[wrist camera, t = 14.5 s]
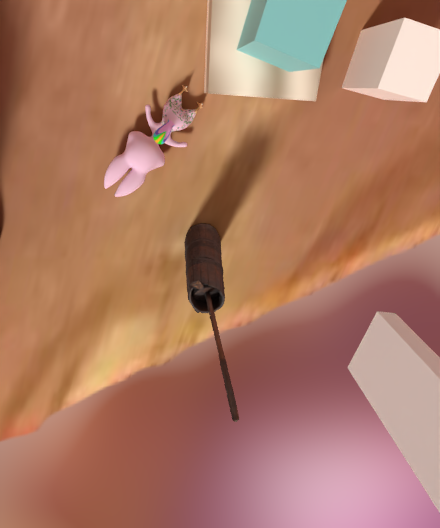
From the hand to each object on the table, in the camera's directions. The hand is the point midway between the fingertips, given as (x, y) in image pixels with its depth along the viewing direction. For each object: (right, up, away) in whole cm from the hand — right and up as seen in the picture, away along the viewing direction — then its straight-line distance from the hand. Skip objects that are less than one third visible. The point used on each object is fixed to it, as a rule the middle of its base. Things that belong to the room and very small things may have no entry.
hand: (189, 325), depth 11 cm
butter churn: (-2, +6, +36) cm, 37 cm away
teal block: (+6, +25, +22) cm, 34 cm away
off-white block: (+20, +26, +29) cm, 43 cm away
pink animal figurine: (-7, +17, +30) cm, 35 cm away
